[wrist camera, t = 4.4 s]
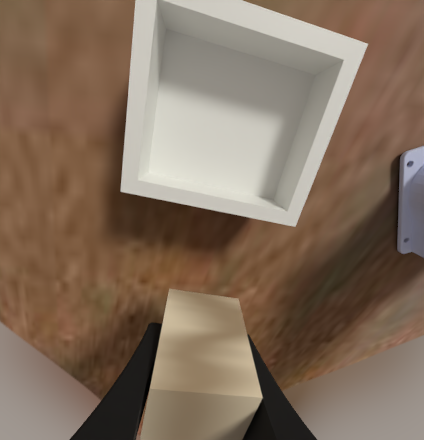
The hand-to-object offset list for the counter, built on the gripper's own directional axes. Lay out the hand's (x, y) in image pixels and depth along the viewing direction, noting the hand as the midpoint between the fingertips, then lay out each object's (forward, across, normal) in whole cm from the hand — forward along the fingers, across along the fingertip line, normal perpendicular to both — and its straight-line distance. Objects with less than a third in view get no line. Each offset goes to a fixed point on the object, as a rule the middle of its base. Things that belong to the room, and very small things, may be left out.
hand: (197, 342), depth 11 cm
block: (+2, 0, 0) cm, 2 cm away
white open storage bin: (+8, 0, -11) cm, 14 cm away
